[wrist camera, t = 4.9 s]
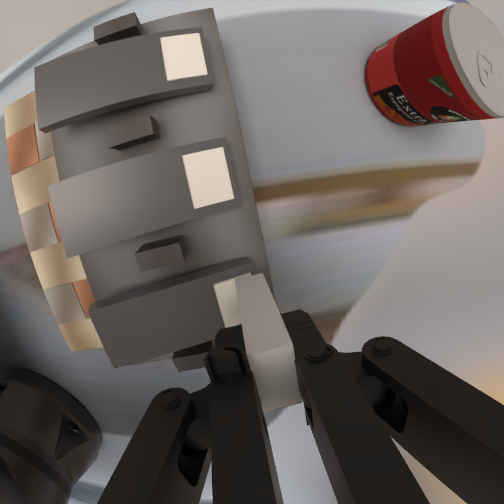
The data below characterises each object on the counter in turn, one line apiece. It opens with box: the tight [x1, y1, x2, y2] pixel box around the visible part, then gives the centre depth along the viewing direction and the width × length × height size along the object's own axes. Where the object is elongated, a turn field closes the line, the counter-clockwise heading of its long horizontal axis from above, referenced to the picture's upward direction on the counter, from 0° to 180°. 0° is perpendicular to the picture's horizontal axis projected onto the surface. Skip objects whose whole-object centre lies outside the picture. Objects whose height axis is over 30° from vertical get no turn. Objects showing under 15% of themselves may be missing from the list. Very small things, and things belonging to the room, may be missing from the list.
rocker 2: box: [88, 257, 256, 368], centre depth 15 cm, size 9×4×1 cm, turn 102°
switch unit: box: [4, 8, 276, 372], centre depth 17 cm, size 18×22×7 cm
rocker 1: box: [35, 27, 214, 134], centre depth 12 cm, size 9×4×1 cm, turn 102°
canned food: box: [365, 3, 504, 126], centre depth 15 cm, size 8×8×11 cm
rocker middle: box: [48, 137, 241, 259], centre depth 13 cm, size 9×4×1 cm, turn 102°
